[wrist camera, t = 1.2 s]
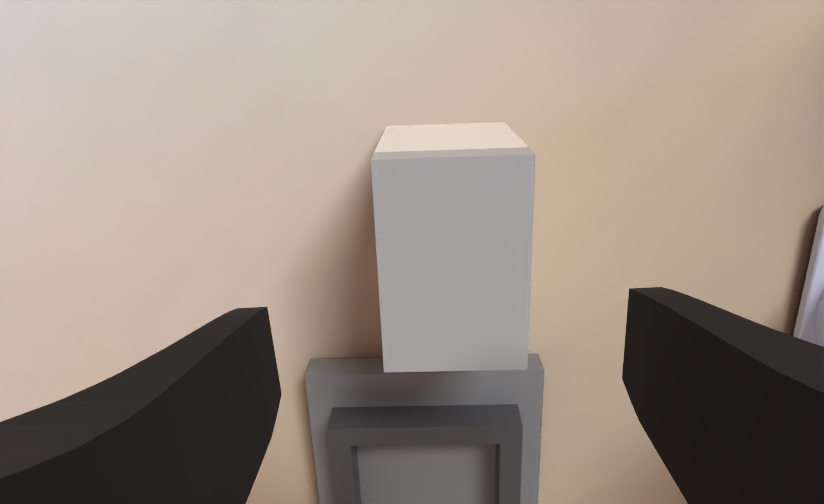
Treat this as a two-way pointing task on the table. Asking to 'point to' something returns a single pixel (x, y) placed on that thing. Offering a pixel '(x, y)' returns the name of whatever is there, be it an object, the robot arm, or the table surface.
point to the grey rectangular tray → (424, 433)
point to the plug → (453, 246)
